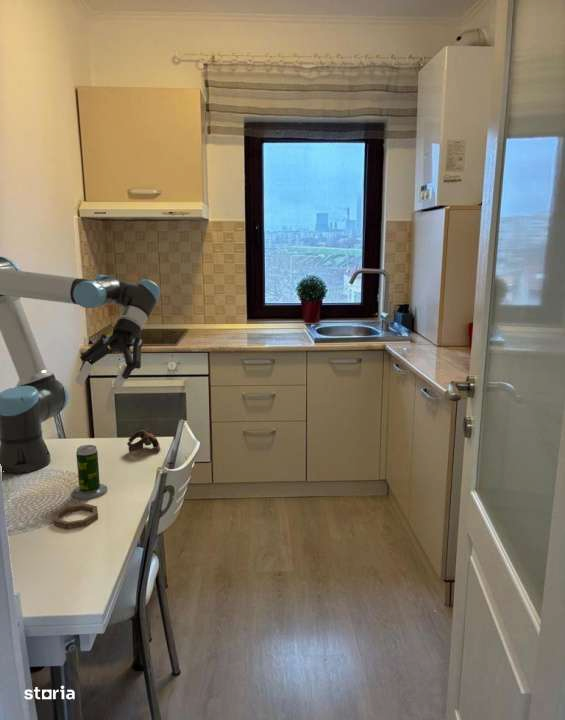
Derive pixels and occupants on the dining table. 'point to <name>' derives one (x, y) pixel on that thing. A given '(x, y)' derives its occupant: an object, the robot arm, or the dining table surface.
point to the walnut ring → (77, 523)
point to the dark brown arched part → (143, 441)
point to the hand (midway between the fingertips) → (97, 385)
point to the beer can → (88, 469)
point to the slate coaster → (100, 492)
